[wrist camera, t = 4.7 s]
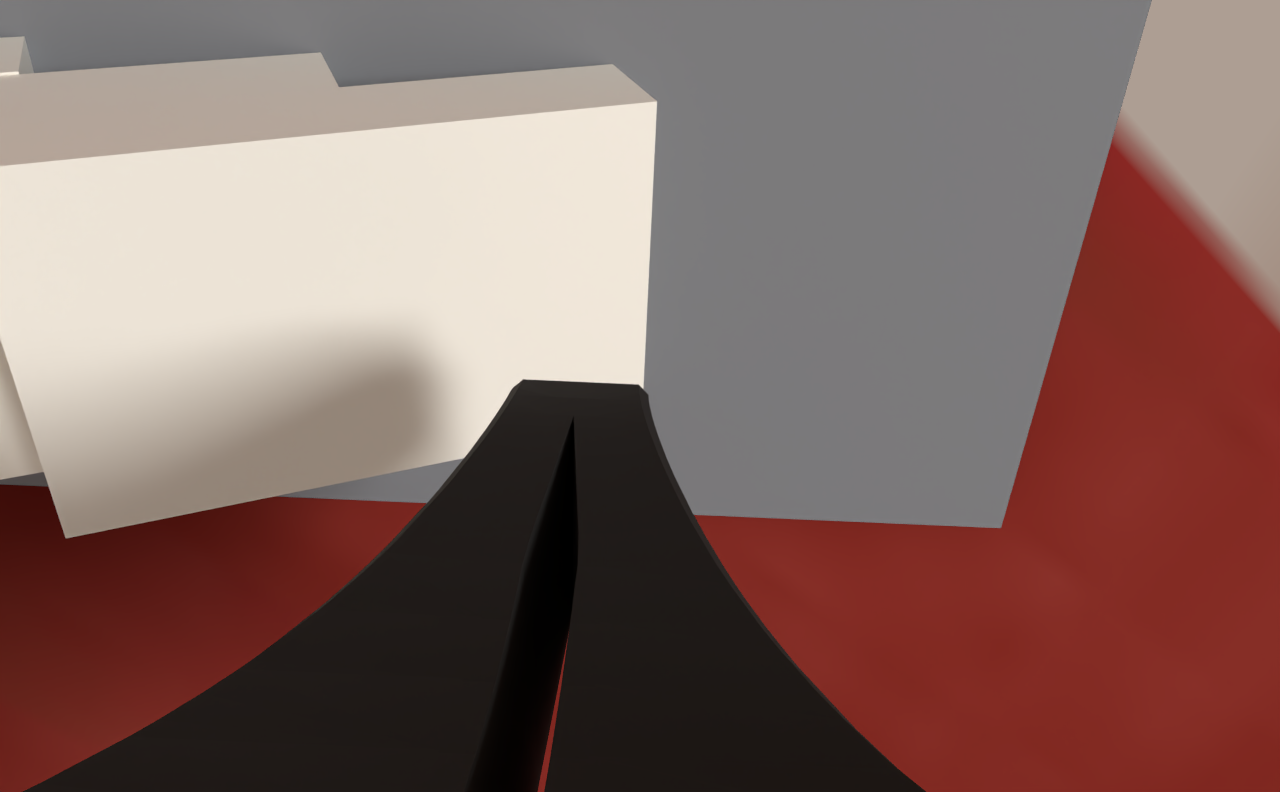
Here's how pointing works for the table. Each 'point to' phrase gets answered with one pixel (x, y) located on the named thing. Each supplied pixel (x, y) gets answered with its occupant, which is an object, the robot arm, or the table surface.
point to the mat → (773, 212)
